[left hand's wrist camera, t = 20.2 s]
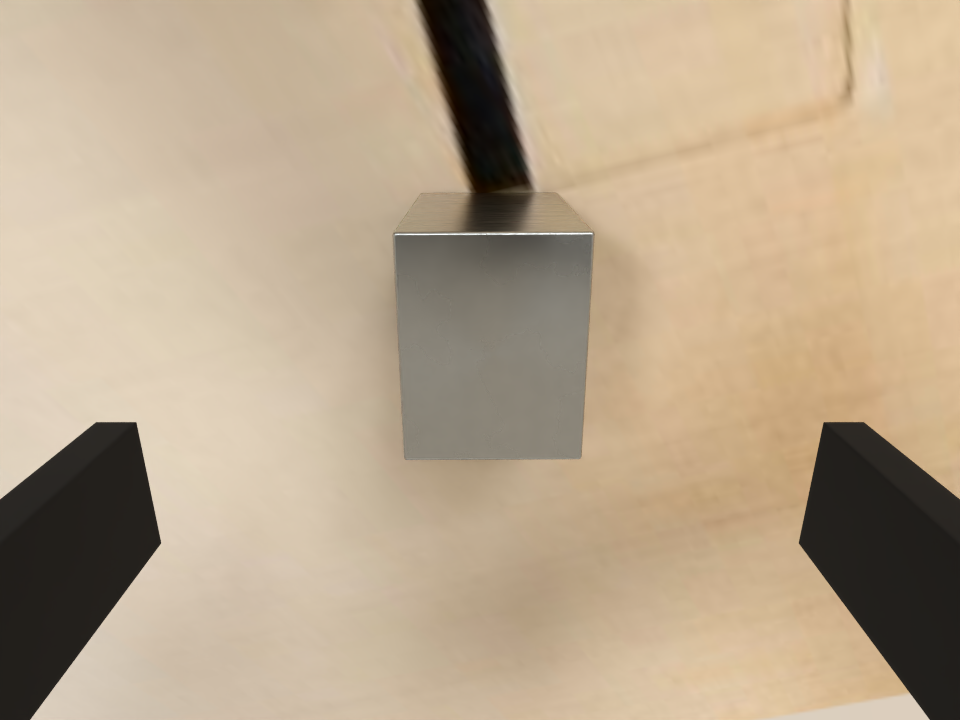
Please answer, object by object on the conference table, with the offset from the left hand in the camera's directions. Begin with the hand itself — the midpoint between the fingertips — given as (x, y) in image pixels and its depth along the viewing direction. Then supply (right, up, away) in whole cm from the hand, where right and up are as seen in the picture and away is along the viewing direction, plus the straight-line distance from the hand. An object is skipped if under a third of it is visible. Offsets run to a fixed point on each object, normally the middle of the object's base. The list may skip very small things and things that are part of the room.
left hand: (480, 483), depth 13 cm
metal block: (0, +6, +15) cm, 17 cm away
